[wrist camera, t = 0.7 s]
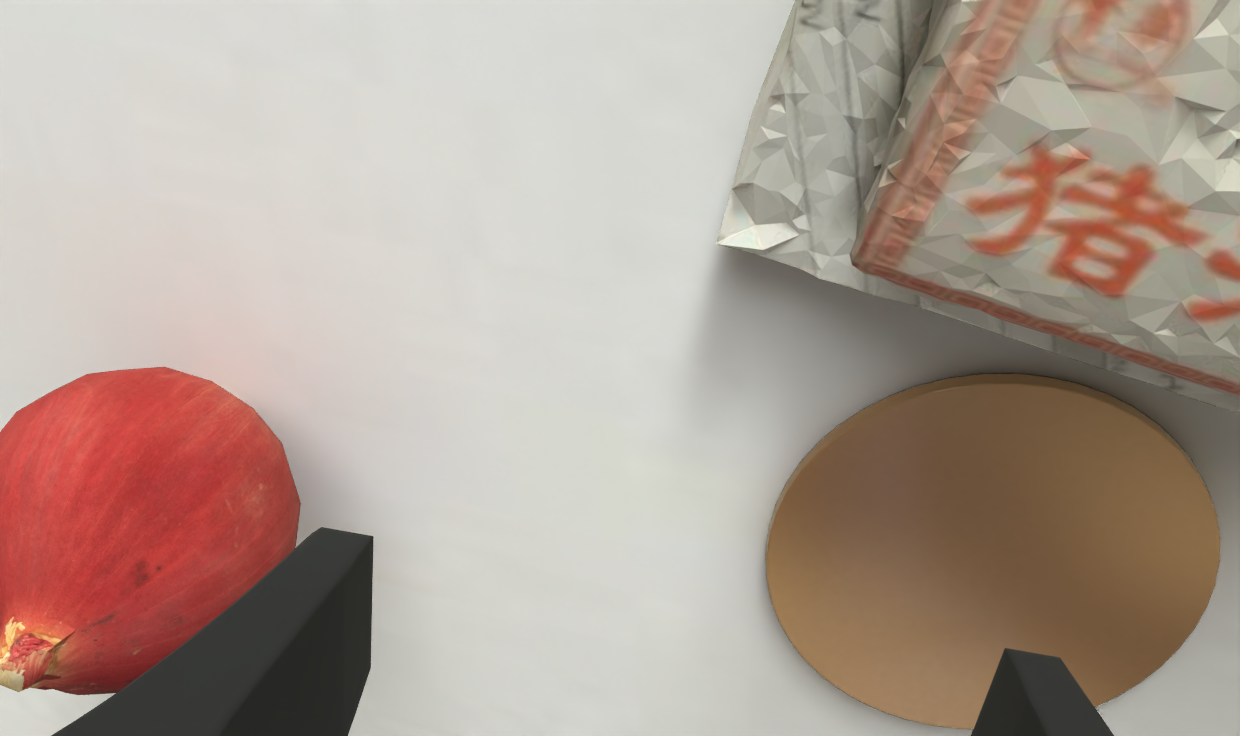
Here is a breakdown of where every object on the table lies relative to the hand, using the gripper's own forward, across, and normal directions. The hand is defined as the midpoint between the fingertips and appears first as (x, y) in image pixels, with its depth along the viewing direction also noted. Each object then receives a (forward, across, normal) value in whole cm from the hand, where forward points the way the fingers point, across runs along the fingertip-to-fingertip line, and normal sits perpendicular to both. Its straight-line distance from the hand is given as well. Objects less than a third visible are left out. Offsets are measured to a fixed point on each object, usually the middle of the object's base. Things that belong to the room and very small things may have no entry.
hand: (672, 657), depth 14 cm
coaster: (+10, -6, +5) cm, 13 cm away
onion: (+10, +10, +5) cm, 15 cm away
